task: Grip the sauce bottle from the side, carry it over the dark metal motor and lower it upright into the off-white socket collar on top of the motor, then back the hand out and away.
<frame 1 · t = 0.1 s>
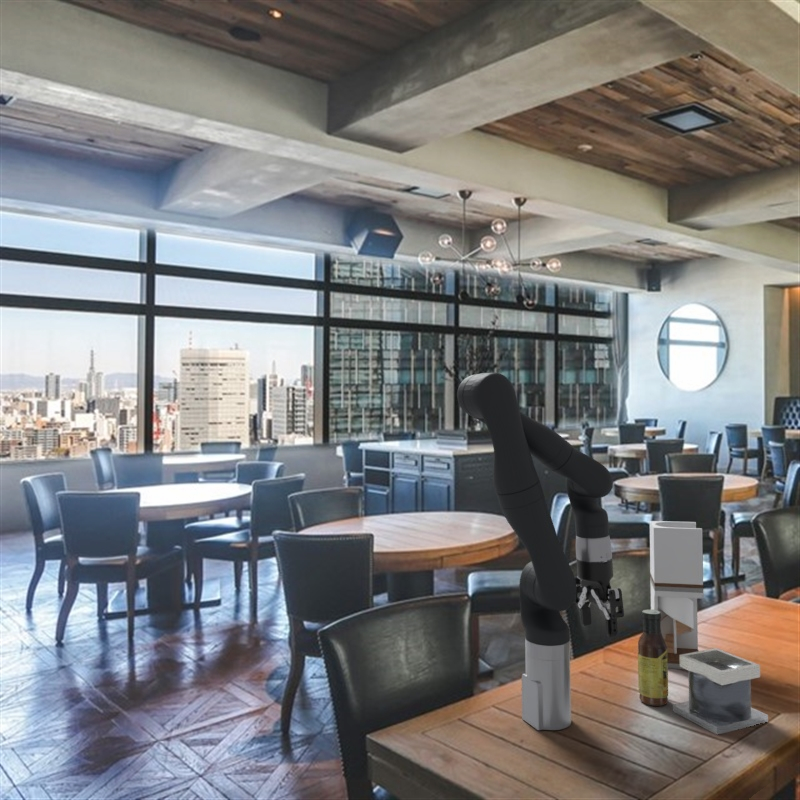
hand: (599, 630, 157), 17 cm above the table, tool pointing down, fingers open, 8 cm apart
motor: (719, 716, 153), on the table
white tower: (677, 662, 186), on the table
sauce bottle: (653, 702, 161), on the table
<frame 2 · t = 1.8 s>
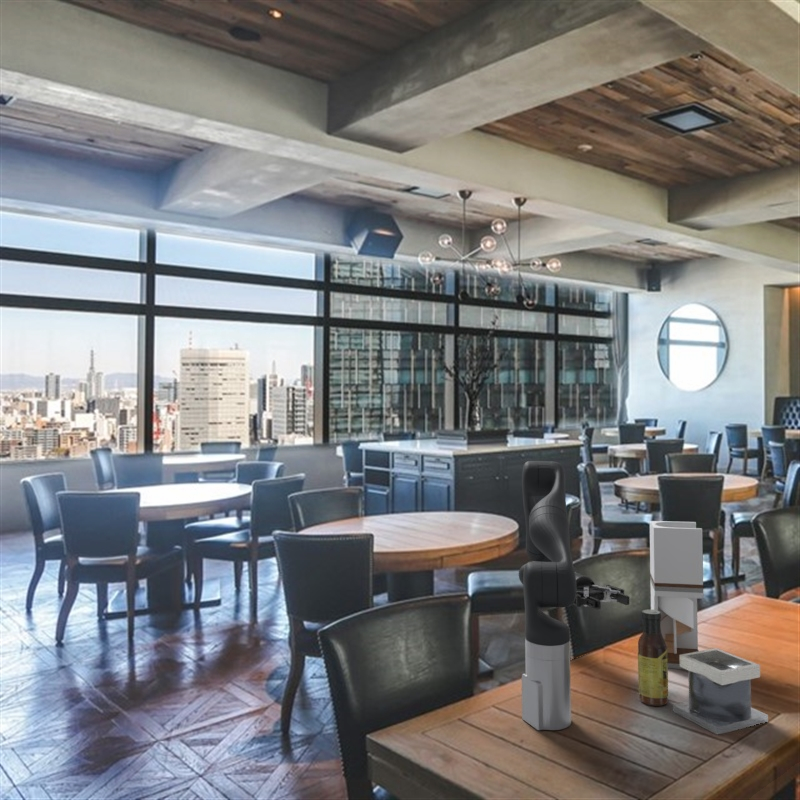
hand: (614, 603, 173), 19 cm above the table, tool horizontal, fingers open, 8 cm apart
nothing on the table moved.
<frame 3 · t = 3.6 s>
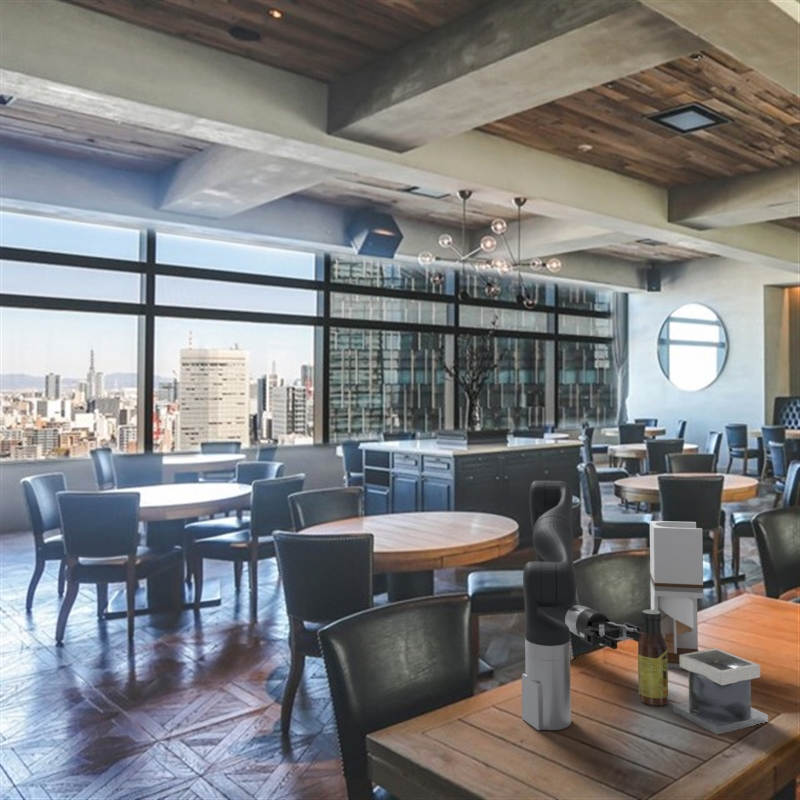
hand: (631, 642, 168), 11 cm above the table, tool horizontal, fingers open, 8 cm apart
nothing on the table moved.
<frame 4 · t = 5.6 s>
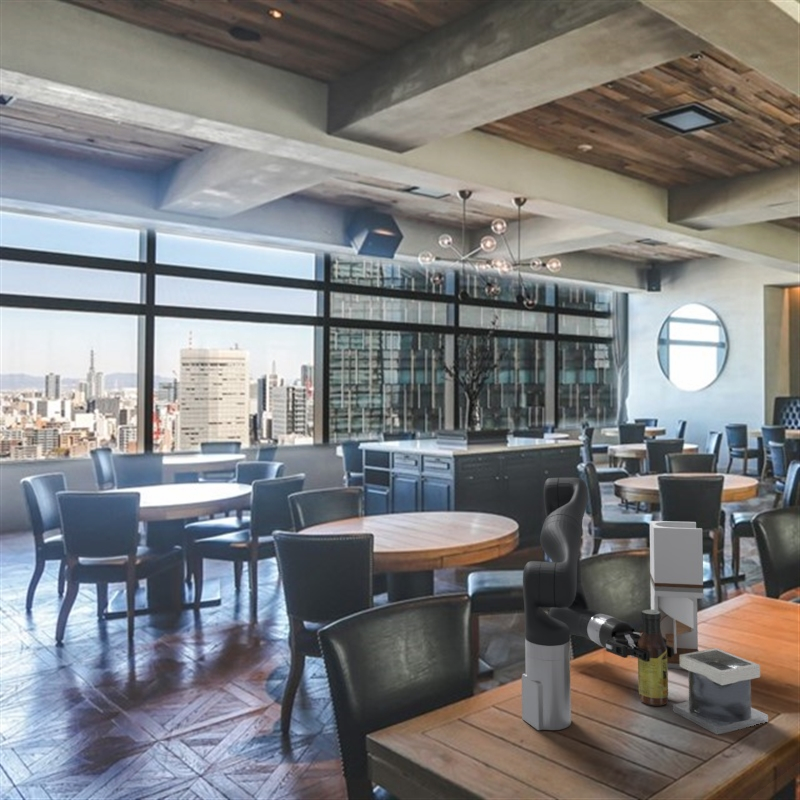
hand: (660, 654, 159), 11 cm above the table, tool horizontal, fingers closed on sauce bottle, 6 cm apart
sauce bottle: (653, 702, 161), on the table, touching gripper
everything else where it was.
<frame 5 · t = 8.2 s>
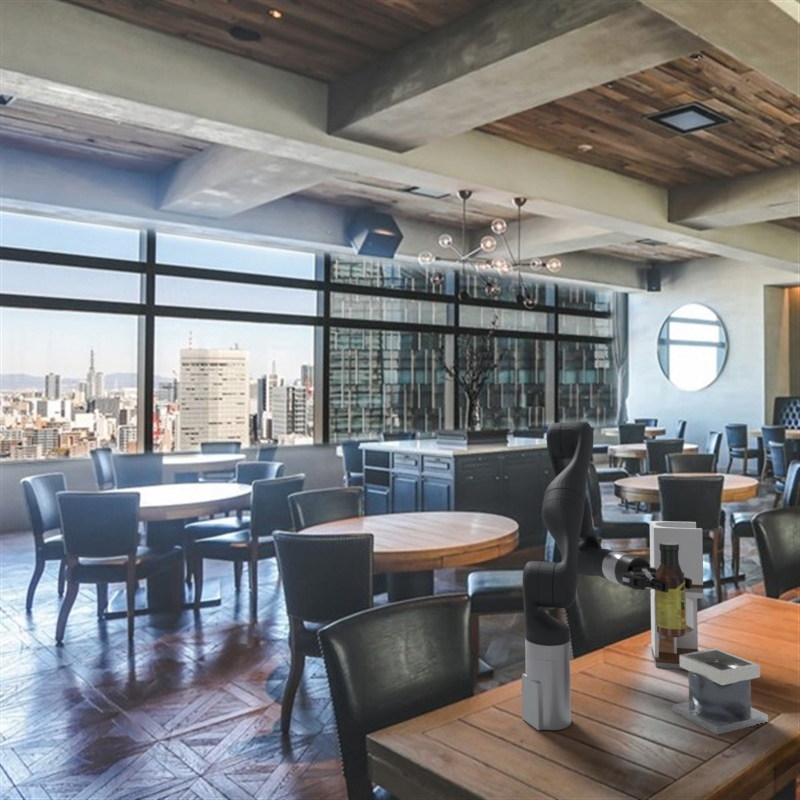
hand: (678, 585, 157), 27 cm above the table, tool horizontal, fingers closed on sauce bottle, 6 cm apart
sauce bottle: (670, 634, 159), point 15 cm above the table, touching gripper
everything else where it was.
when the fingers open (22 cm above the table, at t = 10.5 s): sauce bottle drops 1 cm, resting on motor.
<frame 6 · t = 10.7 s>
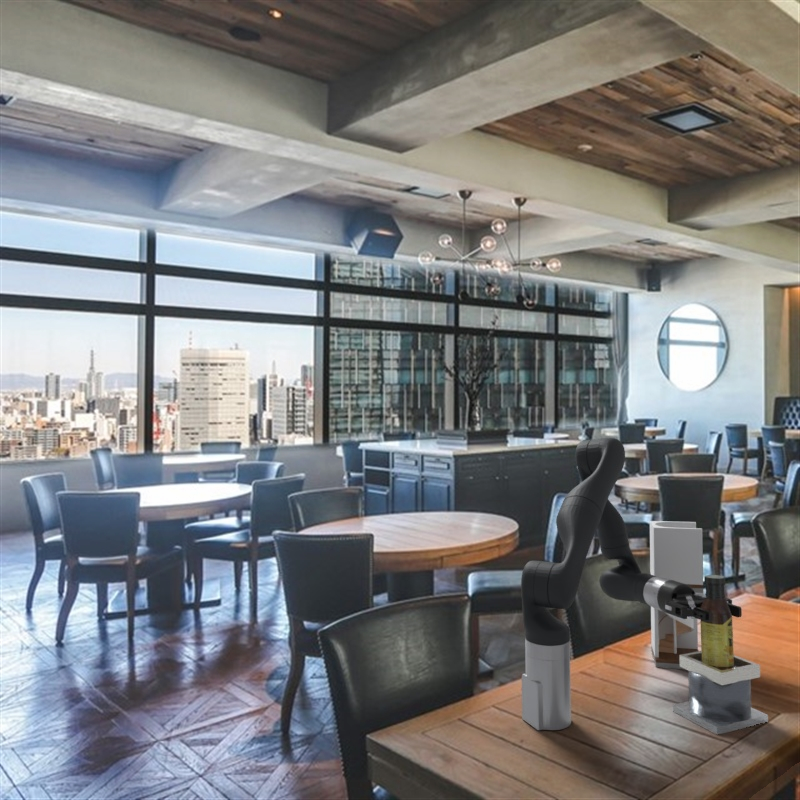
hand: (725, 614, 151), 22 cm above the table, tool horizontal, fingers open, 8 cm apart
sauce bottle: (717, 672, 153), point 9 cm above the table, touching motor
everything else where it was.
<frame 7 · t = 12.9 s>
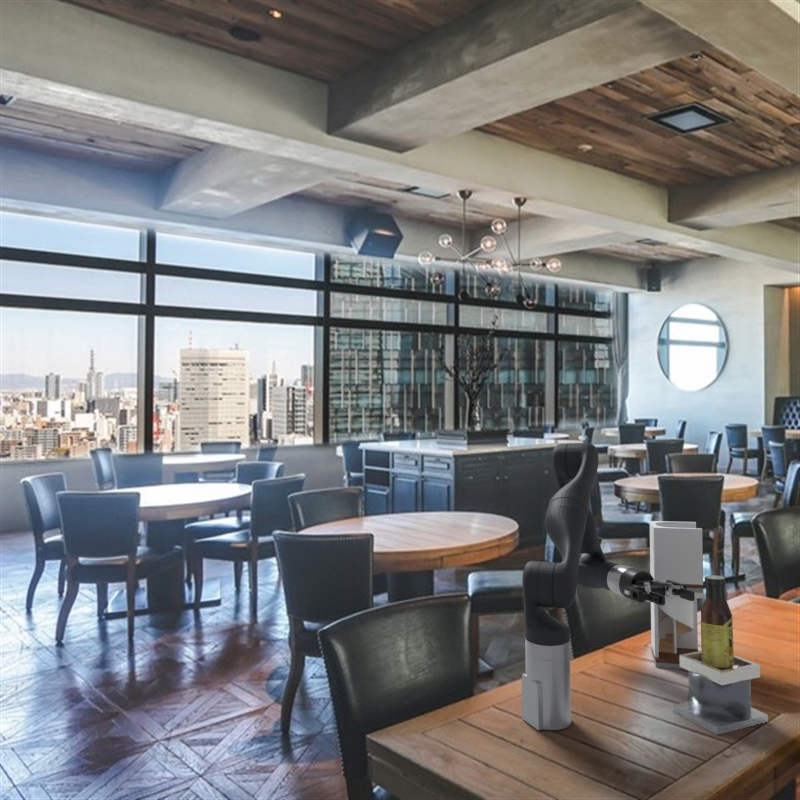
hand: (678, 598, 163), 22 cm above the table, tool horizontal, fingers open, 8 cm apart
nothing on the table moved.
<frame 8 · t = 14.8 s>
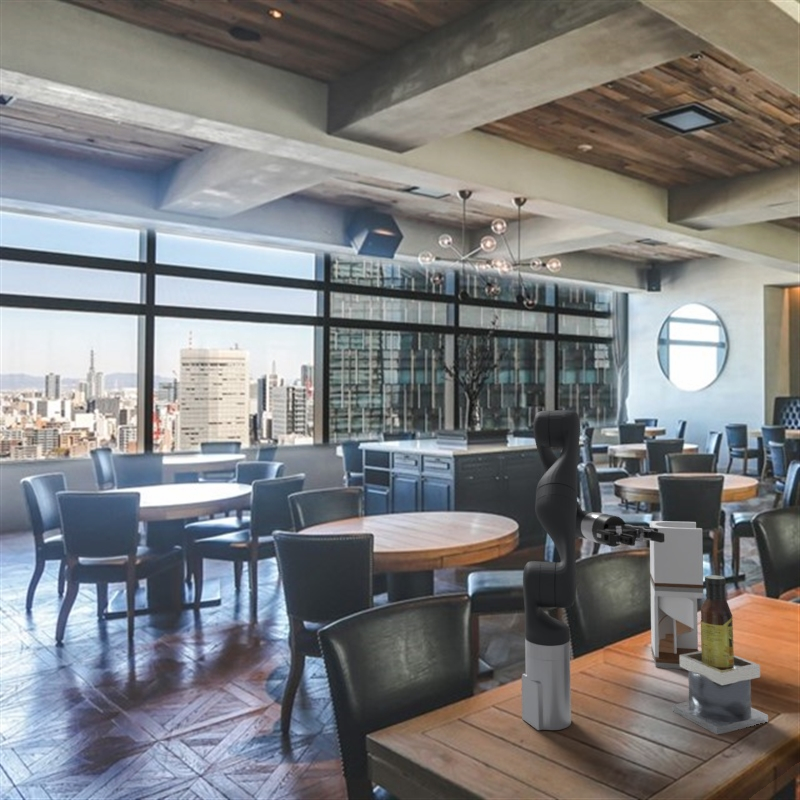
hand: (648, 539, 166), 35 cm above the table, tool horizontal, fingers open, 8 cm apart
nothing on the table moved.
at the end: sauce bottle 0.2 cm off-centre on the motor, point 9.3 cm above the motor's base; sauce bottle tilted 0°; the gripper is holding nothing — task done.
